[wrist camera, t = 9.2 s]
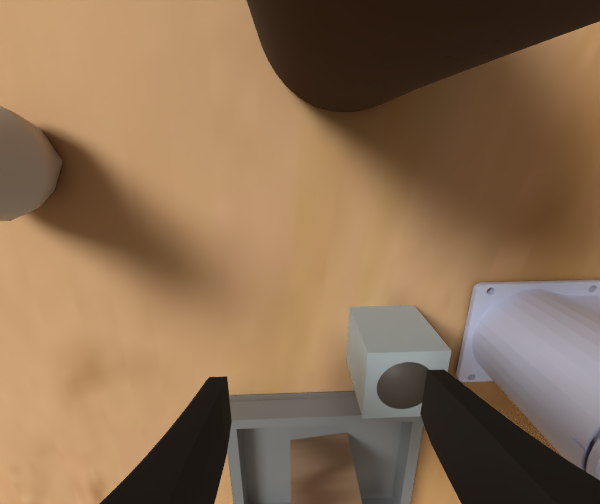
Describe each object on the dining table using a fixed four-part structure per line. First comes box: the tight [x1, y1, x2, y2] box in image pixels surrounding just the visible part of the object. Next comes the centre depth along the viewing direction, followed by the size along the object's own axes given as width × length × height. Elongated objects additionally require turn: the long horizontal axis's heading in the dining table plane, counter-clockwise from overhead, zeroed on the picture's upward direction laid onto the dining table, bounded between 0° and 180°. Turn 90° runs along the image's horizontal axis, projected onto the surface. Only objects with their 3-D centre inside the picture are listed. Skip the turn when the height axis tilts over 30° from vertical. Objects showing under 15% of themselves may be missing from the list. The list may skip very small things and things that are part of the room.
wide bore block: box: [347, 305, 452, 419], centre depth 19 cm, size 4×4×5 cm
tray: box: [227, 391, 424, 504], centre depth 23 cm, size 14×12×2 cm
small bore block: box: [290, 432, 362, 504], centre depth 21 cm, size 4×4×5 cm
